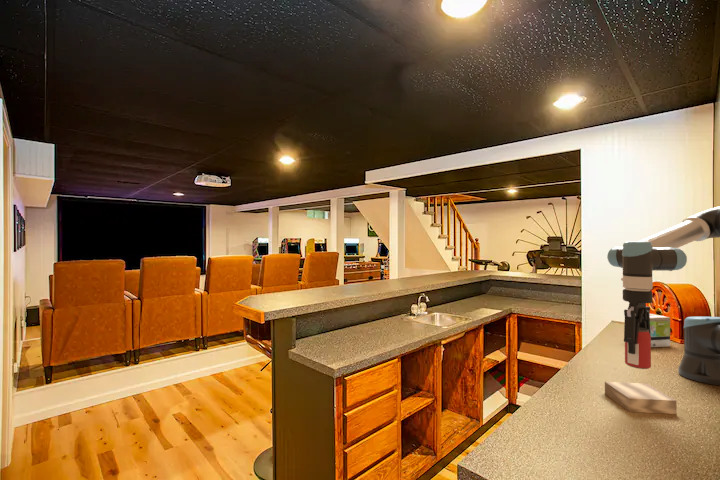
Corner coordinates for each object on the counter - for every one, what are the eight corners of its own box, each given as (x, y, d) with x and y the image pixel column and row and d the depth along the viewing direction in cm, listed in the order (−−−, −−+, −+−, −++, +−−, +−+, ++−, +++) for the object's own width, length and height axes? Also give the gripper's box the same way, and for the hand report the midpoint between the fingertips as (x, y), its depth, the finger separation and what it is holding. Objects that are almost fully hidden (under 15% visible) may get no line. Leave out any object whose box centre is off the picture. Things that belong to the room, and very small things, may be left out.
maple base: (646, 395, 118) (646, 383, 118) (676, 414, 105) (676, 400, 105) (604, 393, 119) (604, 381, 119) (629, 411, 106) (629, 398, 107)
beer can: (656, 370, 108) (655, 331, 108) (631, 368, 110) (631, 330, 110) (643, 363, 115) (643, 326, 115) (620, 361, 116) (620, 325, 116)
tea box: (646, 348, 170) (646, 318, 170) (626, 342, 180) (626, 313, 180) (671, 346, 173) (670, 316, 173) (650, 341, 183) (650, 312, 183)
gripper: (635, 286, 121) (635, 353, 121) (610, 290, 110) (610, 363, 110) (663, 288, 115) (663, 359, 114) (639, 293, 104) (639, 371, 104)
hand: (637, 361), depth 112 cm, fingers closed on beer can, 6 cm apart
